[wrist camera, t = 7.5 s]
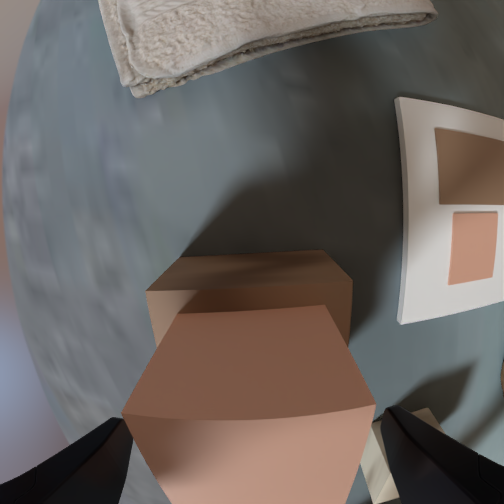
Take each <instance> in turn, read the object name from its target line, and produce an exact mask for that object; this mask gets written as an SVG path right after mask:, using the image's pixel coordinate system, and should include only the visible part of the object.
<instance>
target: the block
mask: <svg viewBox="0 0 504 504" xmlns="http://www.w3.org/2000/svg"><path fill="white" fill-rule="evenodd" d="M501 385H502V389H503V397H504V361H503V365H502V370H501Z"/></svg>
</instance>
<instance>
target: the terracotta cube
mask: <svg viewBox="0 0 504 504" xmlns="http://www.w3.org/2000/svg"><path fill="white" fill-rule="evenodd" d="M375 408H376V402H375V400H374V398H373V396H372V394H371V392H370V390H369V388H368V386H367V384H366V382H365V380H364V378H363V376H362V374H361V372H360V370H359V368H358V366H357V364H356V363H355V361H354V359H353V357H352V355H351V353H350V351H349V349H348V347H347V345H346V343H345V341H344V339H343V337H342V336H341V334H340V332H339V330H338V328H337V326H336V324H335V322H334V321H333V319H332V317H331V315H330V313H329V311H328V309H327V308H326V306H325V305H315V306H304V307H293V308H280V309H267V310H252V311H235V312H214V313H186V314H177V315H176V317H175V318H174V320H173V322H172V323H171V325H170V327H169V329H168V330H167V332H166V334H165V335H164V337H163V339H162V341H161V342H160V344H159V346H158V348H157V349H156V351H155V353H154V355H153V356H152V358H151V360H150V362H149V363H148V365H147V367H146V369H145V371H144V372H143V374H142V376H141V378H140V380H139V381H138V383H137V385H136V387H135V389H134V390H133V392H132V394H131V396H130V398H129V399H128V401H127V403H126V405H125V407H124V409H123V411H122V412H121V414H122V416H123V418H124V420H125V422H126V424H127V426H128V428H129V430H130V433H131V435H132V437H133V438H134V440H135V442H136V444H137V446H138V448H139V450H140V452H141V454H142V455H143V457H144V459H145V461H146V463H147V464H148V466H149V468H150V470H151V471H152V473H153V475H154V476H155V478H156V480H157V481H158V483H159V484H160V486H161V488H162V489H163V491H164V492H165V494H166V495H167V497H168V498H169V500H170V501H171V503H172V504H345V502H346V500H347V497H348V495H349V492H350V489H351V487H352V484H353V481H354V479H355V476H356V473H357V470H358V467H359V464H360V461H361V458H362V455H363V452H364V448H365V445H366V442H367V438H368V435H369V431H370V428H371V424H372V420H373V416H374V412H375Z"/></svg>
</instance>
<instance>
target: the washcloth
mask: <svg viewBox="0 0 504 504" xmlns="http://www.w3.org/2000/svg"><path fill="white" fill-rule="evenodd" d="M98 2H99V6H100V12H101V15H102V19H103V22H104V26H105V30H106V33H107V36H108V41H109V45H110V48H111V50H112V54H113V57H114V60H115V62H116V66H117V69H118V72H119V75H120V81H121V83H122V85H123V87H130V89H131V92H132V94H133V95H134V96H135V97H136V98H144V97H146V96H147V95H151V94H154V93H155V92H156V91H158V90H160V89H162V90H165V89H166V88H167V87H176V86H180V85H183V84H185V83H186V82H187V81H188V80H195V79H198V78H200V77H201V76H205V75H210V74H214V73H216V72H220V71H222V70H224V69H228V68H230V67H233V66H236V65H239V64H241V63H244V62H247V61H249V60H253V59H256V58H259V57H262V56H264V55H268V54H271V53H274V52H277V51H281V50H285V49H288V48H292V47H296V46H300V45H304V44H308V43H311V42H317V41H321V40H325V39H330V38H334V37H339V36H344V35H349V34H356V33H359V32H364V31H374V30H381V29H384V30H385V29H394V28H408V27H415V26H421V25H425V24H428V23H430V22H432V21H434V20H435V19H437V17H438V12H437V11H436V10H435V9H434V5H433V4H432V2H431V1H430V0H98Z"/></svg>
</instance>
